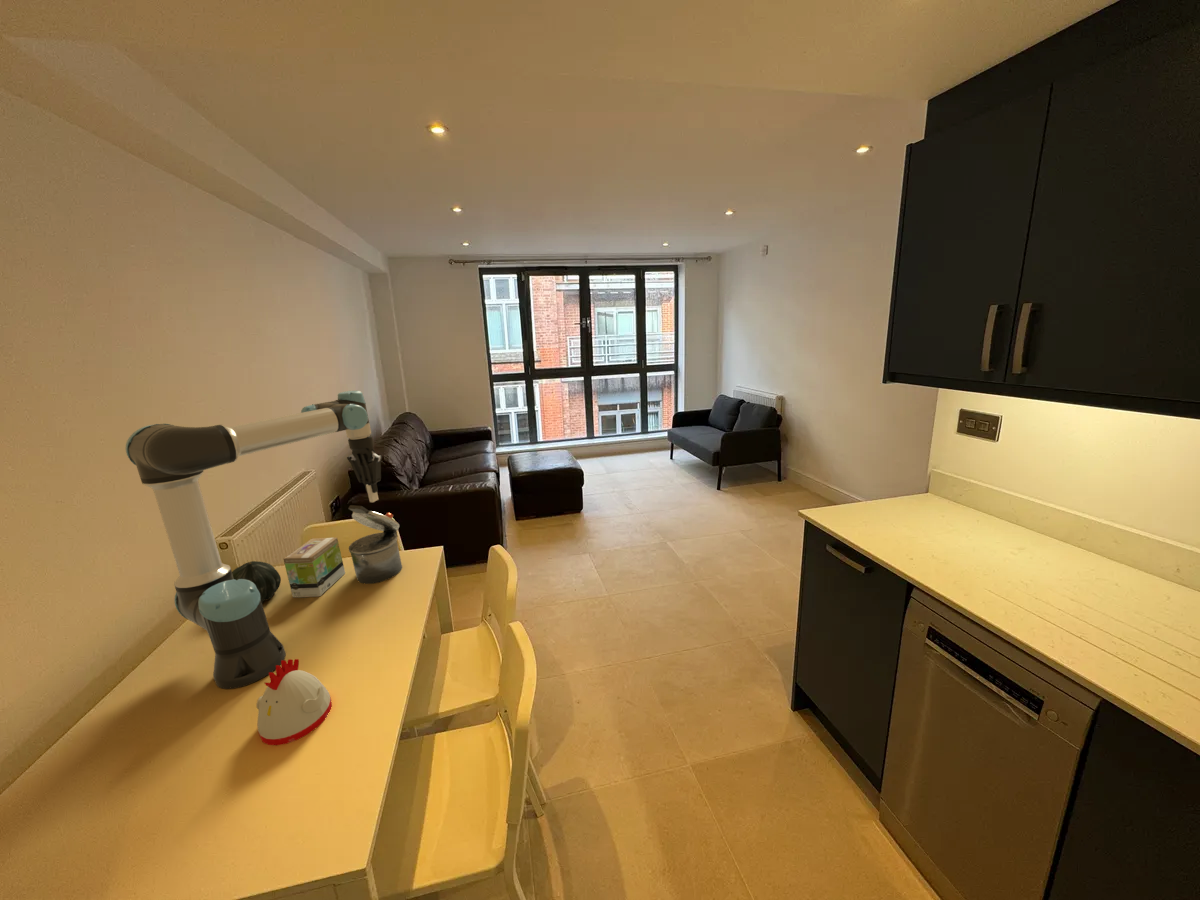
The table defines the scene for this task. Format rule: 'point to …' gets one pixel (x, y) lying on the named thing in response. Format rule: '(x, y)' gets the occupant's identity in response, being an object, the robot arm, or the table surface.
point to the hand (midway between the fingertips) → (374, 500)
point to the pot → (376, 557)
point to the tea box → (314, 567)
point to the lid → (374, 519)
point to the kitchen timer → (291, 704)
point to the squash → (259, 577)
